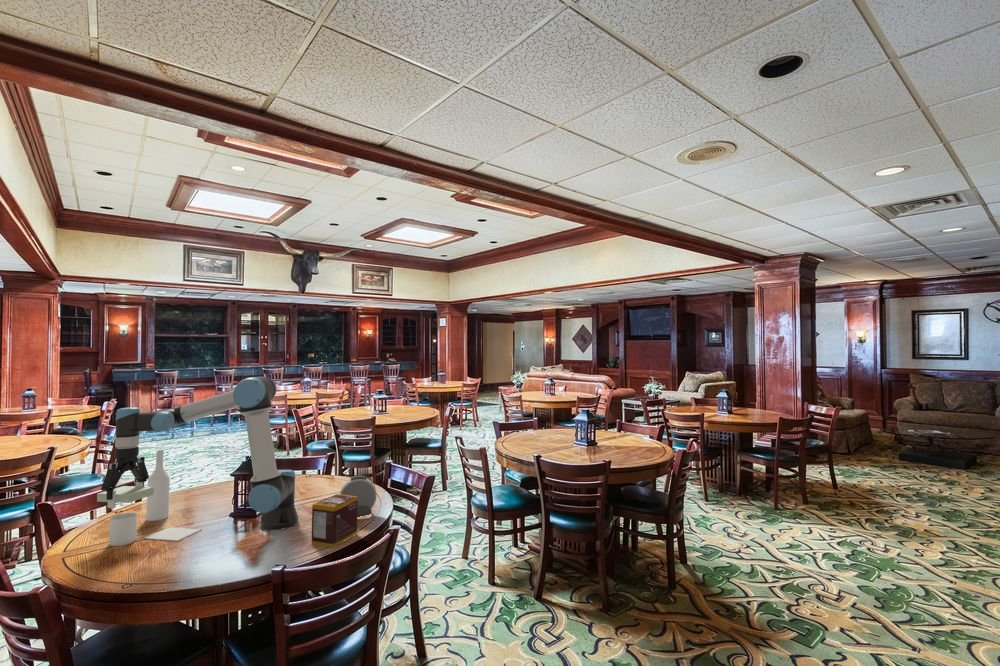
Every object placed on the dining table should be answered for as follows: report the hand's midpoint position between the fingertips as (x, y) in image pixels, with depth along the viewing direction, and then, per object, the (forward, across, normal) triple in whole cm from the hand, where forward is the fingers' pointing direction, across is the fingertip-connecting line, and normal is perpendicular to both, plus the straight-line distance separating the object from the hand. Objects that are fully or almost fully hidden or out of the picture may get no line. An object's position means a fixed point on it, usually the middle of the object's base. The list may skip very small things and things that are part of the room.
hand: (125, 503), depth 188 cm
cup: (+15, 0, 0) cm, 15 cm away
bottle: (+15, -25, -10) cm, 30 cm away
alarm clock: (+16, -42, +78) cm, 90 cm away
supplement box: (+16, -15, +80) cm, 83 cm away
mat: (+15, -9, +14) cm, 22 cm away
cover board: (-2, 0, 0) cm, 2 cm away
